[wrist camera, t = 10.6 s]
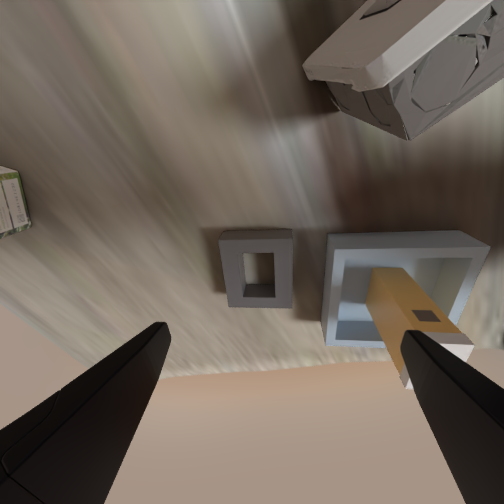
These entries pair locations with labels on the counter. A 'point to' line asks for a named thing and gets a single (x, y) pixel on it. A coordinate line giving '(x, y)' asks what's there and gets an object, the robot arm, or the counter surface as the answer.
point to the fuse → (409, 316)
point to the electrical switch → (411, 60)
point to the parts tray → (394, 256)
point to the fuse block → (234, 273)
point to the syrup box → (12, 204)
